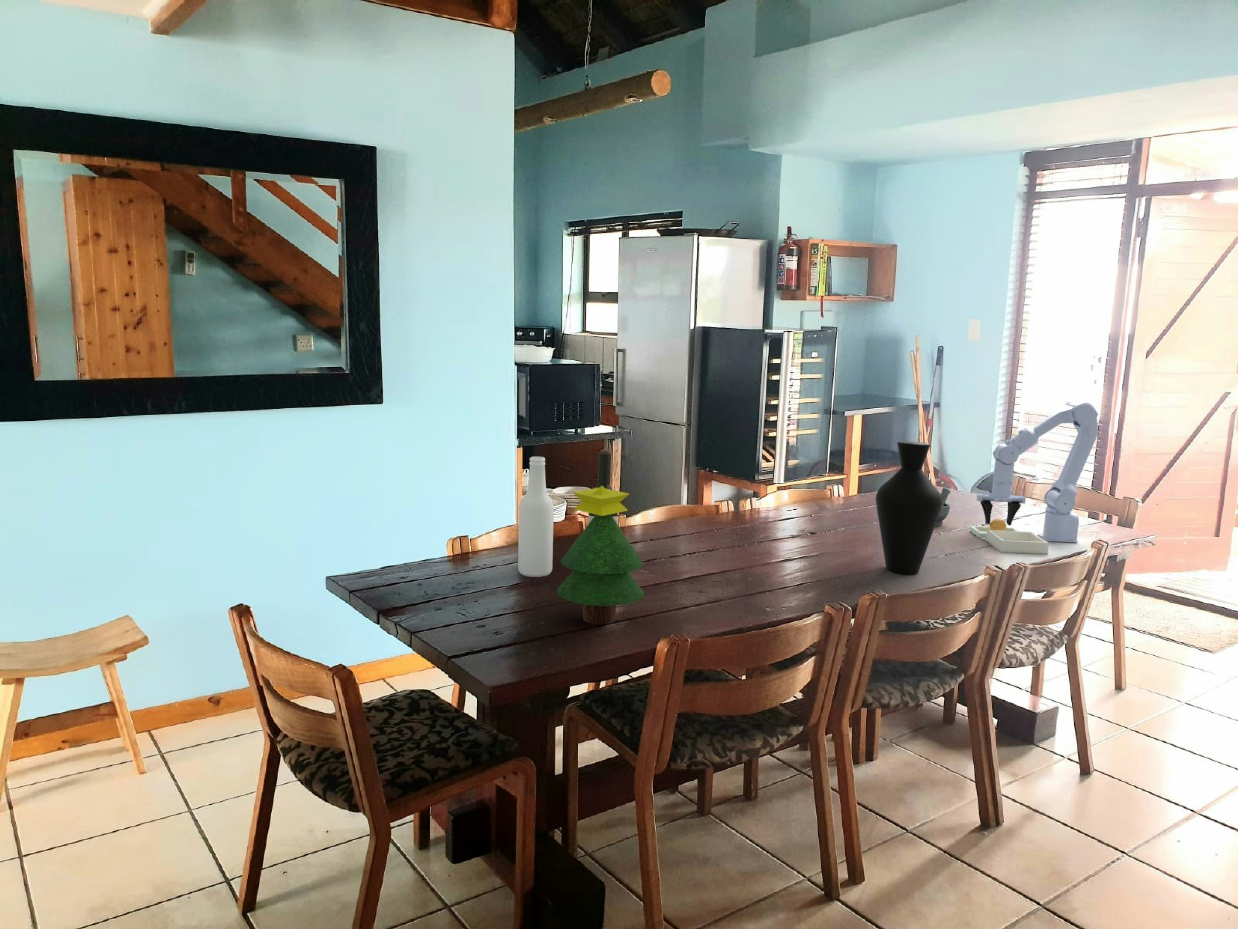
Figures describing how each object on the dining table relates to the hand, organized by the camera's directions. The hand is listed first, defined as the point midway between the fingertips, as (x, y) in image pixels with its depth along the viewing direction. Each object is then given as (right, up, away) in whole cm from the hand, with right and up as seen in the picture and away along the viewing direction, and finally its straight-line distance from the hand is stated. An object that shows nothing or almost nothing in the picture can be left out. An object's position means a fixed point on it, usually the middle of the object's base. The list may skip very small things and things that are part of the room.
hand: (998, 524), depth 301 cm
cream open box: (0, -6, -13) cm, 15 cm away
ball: (0, -1, 0) cm, 1 cm away
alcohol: (-142, -9, -58) cm, 154 cm away
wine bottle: (-125, -7, -43) cm, 133 cm away
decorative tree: (-125, -15, -91) cm, 155 cm away
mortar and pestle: (-15, -1, +15) cm, 21 cm away
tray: (0, -4, +1) cm, 4 cm away
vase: (-43, -10, -43) cm, 62 cm away
